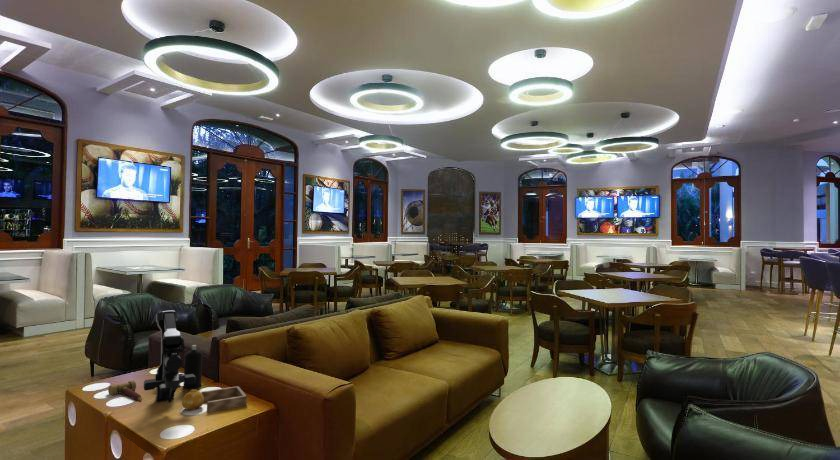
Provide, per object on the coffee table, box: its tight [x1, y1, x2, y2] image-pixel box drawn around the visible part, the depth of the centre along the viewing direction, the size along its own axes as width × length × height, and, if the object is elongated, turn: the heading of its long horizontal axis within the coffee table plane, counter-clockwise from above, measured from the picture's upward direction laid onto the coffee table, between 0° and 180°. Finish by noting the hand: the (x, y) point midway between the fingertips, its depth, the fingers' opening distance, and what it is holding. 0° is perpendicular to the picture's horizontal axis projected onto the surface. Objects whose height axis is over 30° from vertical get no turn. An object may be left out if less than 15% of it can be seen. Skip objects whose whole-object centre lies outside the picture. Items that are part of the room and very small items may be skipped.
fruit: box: [181, 389, 205, 411], centre depth 192 cm, size 8×8×8 cm
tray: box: [200, 385, 248, 413], centre depth 199 cm, size 16×15×4 cm
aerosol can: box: [182, 344, 204, 390], centre depth 219 cm, size 8×8×20 cm
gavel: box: [107, 380, 143, 401], centre depth 204 cm, size 21×5×10 cm
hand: (169, 402), depth 187 cm, fingers closed
